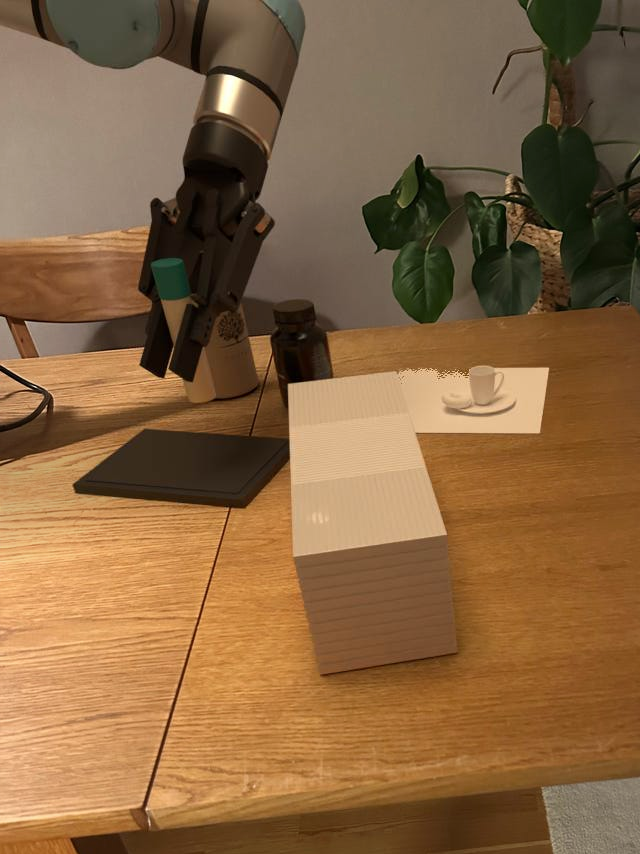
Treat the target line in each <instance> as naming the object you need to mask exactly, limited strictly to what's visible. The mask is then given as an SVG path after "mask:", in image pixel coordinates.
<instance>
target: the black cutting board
mask: <svg viewBox="0 0 640 854" xmlns="http://www.w3.org/2000/svg"><path fill="white" fill-rule="evenodd" d="M288 461H290V438H287V437H272V436H271V437H270V436H259V435H257V436H256V435H243V434H242V435H241V434H230V433H229V434H227V433H216V432H215V433H213V432H199V431H187V430H186V431H185V430H171V429H170V430H169V429H156V428H154V429H153V428H143V429H142V430H141V431H140V432H138V433H136V434H135V435H134V436H133V437H132V438H130V439H129V440H127V441H126V442H125V443H124V444H122V445H121V446H120V447H118V448H117V449H116V450H115V451H113V452H112V453H111V454H110V455H108V456H106V458H104V459H103V460H101V462H99V463H98V464H97V465H96V466H95V467H93V468H92V469H90V470H89V471H87V472H86V473H85V474H84V475H82V476H81V477H79V479H78V480H76V481H75V482H73V483H72V484H71V485H72V488H73V490H74V493H76V494H83V495H84V494H85V495H95V496H106V497H118V498H128V499H138V500H151V501H162V502H172V503H185V504H197V505H205V506H206V505H207V506H217V507H228V508H240V509H245V508H246V507H247V506H248V505H249V504H250V503H251V502H252V501H253V499H254V498H255V497H256V496H257V495H258V494H259V493H260V492H261V491H262V489H264V487H265V486H266V485H267V484H268V483H269V482H270V481H271V480H272V479H273V478H274V477H275V475H277V473H278V472H279V471H281V469H282V468H283V467H284V466H285V465H286V464H287V463H288Z"/></svg>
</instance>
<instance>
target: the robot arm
mask: <svg viewBox="0 0 640 854" xmlns="http://www.w3.org/2000/svg"><path fill="white" fill-rule="evenodd" d="M0 26H2V27H5V28H7V29H11V30H13V31H14V30H15V31H17V32H20V33H23V34H26V35H30V36H31V37H32V36H33V37H36V38H39V39H42V40H44V41H46V42H50V43H53V44H55V45H57V46H59V47H62V48H66V49H69V50H70V51H71V52H72V53H73V54H75V55H76V56H77V57H79V58H80V59H81V60H82V61H85V62H86V63H88V64H91V65H93V66H97V67H100V68H105V69H106V68H107V69H108V68H109V69H113V70H127V69H131V68H133V67H136V66H137V65H140V64H141V63H143V62H145V61H147V60H150V59H154V58H157V57H158V58H161V59H163V60H166V61H168V62H171V63H173V64H175V65H178V66H179V67H182V68H185V69H188V70H190V71H193V72H194V73H196V74H198V75H202V76H205V80H204V84H203V87H202V90H201V92H200V96H199V100H198V103H197V105H196V109H195V113H194V116H193V120H192V123H193V126H192V127H191V129H190V131H189V134H188V139H187V141H186V145H185V148H184V152H183V155H182V161H181V162H182V167H183V174H184V176H183V177H184V178H183V181H182V183H181V184H180V185H179V187H178V188H177V190H176V192H175V197H173V198H170V199H168V200H166V201H162V200H161V199H160V198H159V197H154V198H153V199H151V201H150V202H149V203H150V204H149V207H150V217H151V222H150V228H149V231H148V232H149V233H148V237H147V242H146V247H145V252H144V256H143V262H142V266H141V270H140V276H139V280H138V286H137V291H138V292H139V293H141V294H142V295H143V296H144V297H146V298H147V299H148V300H150V302H151V309H150V310H149V315H148V317H147V321H146V325H145V328H144V330H145V331H144V333H145V335H146V336H147V337H146V339H145V344H144V347H143V351H142V353H141V358H140V360H139V364H138V366H139V367H141V368H143V369H144V370H146V371H147V372H149V373H150V374H151V375H153V376H155V377H156V378H159V379H165V378H166V374H167V371H170V372H171V373H172V374H175V375H176V376H178V377H179V378H181V379H182V380H183V379H184V380H185V381H187V382H193V380H194V377H195V373H196V369H197V366H198V362H199V359H200V355H201V352H202V348H203V347H207V345H208V344H209V341H210V338H211V334H212V331H213V327H214V324H215V320H216V317H218V316H220V314H221V313H222V312H226V311H229V312H231V313H234V312H236V311H237V310H238V308H239V305H240V302H241V303H242V300H243V297H244V294H245V292H246V290H247V289H246V288H247V286H248V283H249V280H250V278H251V275H252V273H253V270H254V267H255V265H256V263H257V259H258V257H259V254H260V251H261V248H262V247H263V246H262V245H263V243H264V241H265V240H266V239H267V237H268V236H269V234H270V233H271V231H272V230H273V229H274V227H275V225H276V220H275V219H274V218H273V216H271V215H270V213H268V211H267V210H266V209H265V208H264V207H263V206H262V204H260V203H259V202H257V200H258V199H259V198H260V196H261V193H262V191H263V190H262V189H263V187H264V183H265V180H266V176H267V173H268V169H269V162H268V161H270V159H271V156H272V153H273V150H274V147H275V142H276V138H277V136H278V133H279V128H280V125H281V122H282V118H283V115H284V111H285V107H286V105H287V101H288V97H289V94H290V91H291V88H292V84H293V82H294V79H295V78H294V77H295V75H296V71H297V69H298V65H299V59H300V54H301V50H302V45H303V40H304V37H305V36H304V35H305V32H306V27H307V26H306V15H305V12H304V9H303V7H302V4H301V3H300V1H299V0H0ZM201 251H203V256H202V262H201V268H200V275H199V281H198V287H197V293H196V295H193V296H192V295H190V297H191V299H192V300H193V301H194V302H195V303H196V304H198V307H196V306H195V305H193V304H187V305H186V308H185V312H184V315H183V319H182V322H181V326H180V329H179V333H178V336H177V340H176V343H175V347H174V345H173V342H172V338H171V335H170V331H169V327H168V324H167V320H166V316H165V313H164V309H163V305H162V302H161V298H160V297H159V293H158V289H157V286H156V282H155V279H154V275H153V271H152V268H151V263H152V262H154V261H157V260H161V259H166V258H179V259H182V260H183V262H184V266H185V270H186V274H187V278H188V281H189V278H190V276H191V273H192V271H193V268H194V266H195V263H196V261H197V259H198V256H199V254H200V252H201ZM228 292H230V293H229V294H228Z"/></svg>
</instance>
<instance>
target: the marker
mask: <svg viewBox="0 0 640 854" xmlns="http://www.w3.org/2000/svg"><path fill="white" fill-rule="evenodd" d="M151 268H152V271H153V275H154V279H155V282H156V286H157V289H158V293H159V297H160V298H161V302H162V305H163V309H164V313H165V316H166V320H167V324H168V327H169V331H170V335H171V338H172V342H173V345H174V346H173V348H174V347H175V343H176V340H177V336H178V333H179V329H180V326H181V322H182V319H183V315H184V312H185V308H186V305H187V304H193V300H192V299H191V297H190V295H191V290H190V286H189V282H188V278H187V274H186V270H185V266H184V262H183V260H182V259H179V258H166V259H161V260H157V261H154V262H152V263H151ZM193 305H194V304H193ZM182 382H183V385H184V388H185V392H186V396H187V399H188V401H189V402H191V403H194V404H200V403H208V402H210V401H212V400H215V399H214V398H215V397H216V391H215V387H214V383H213V380H212V376H211V372H210V368H209V364H208V360H207V356H206V352H205V348H204V347H203V348H202V352H201V355H200V359H199V362H198V366H197V369H196V373H195V377H194V380H193V382H187V381H185V380H184V379H182Z"/></svg>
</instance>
